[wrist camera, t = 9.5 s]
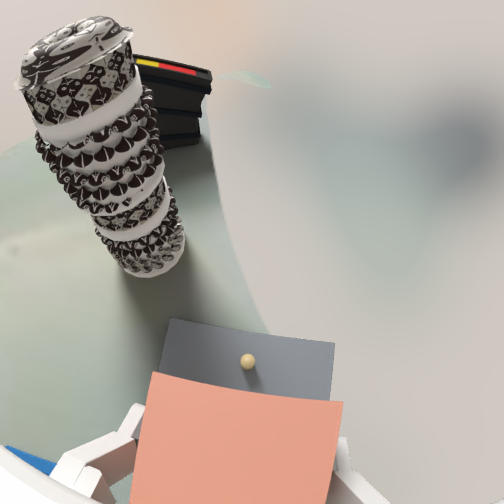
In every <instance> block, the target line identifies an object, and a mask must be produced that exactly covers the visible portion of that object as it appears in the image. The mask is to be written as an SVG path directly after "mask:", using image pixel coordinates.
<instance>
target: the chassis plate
mask: <svg viewBox="0 0 504 504" xmlns="http://www.w3.org/2000/svg"><path fill="white" fill-rule="evenodd" d="M334 348H335V343H332V342H323V341H314V340H305V339H297V338H289V337H282V336H274V335H267V334H261V333H254V332H248V331H241V330H235V329H229V328H223V327H218V326H212V325H207V324H201V323H196V322H191V321H186V320H181V319H176V318H171V317H170V321H169V325H168V329H167V333H166V338H165V342H164V346H163V351H162V355H161V360H160V364H159V369H158V373H162V374H166V375H170V376H174V377H178V378H182V379H186V380H191V381H195V382H200V383H204V384H209V385H214V386H219V387H225V388H230V389H236V390H242V391H248V392H254V393H261V394H268V395H275V396H283V397H292V398H302V399H312V400H325V401H329V397H330V389H331V380H332V370H333V360H334Z"/></svg>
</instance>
